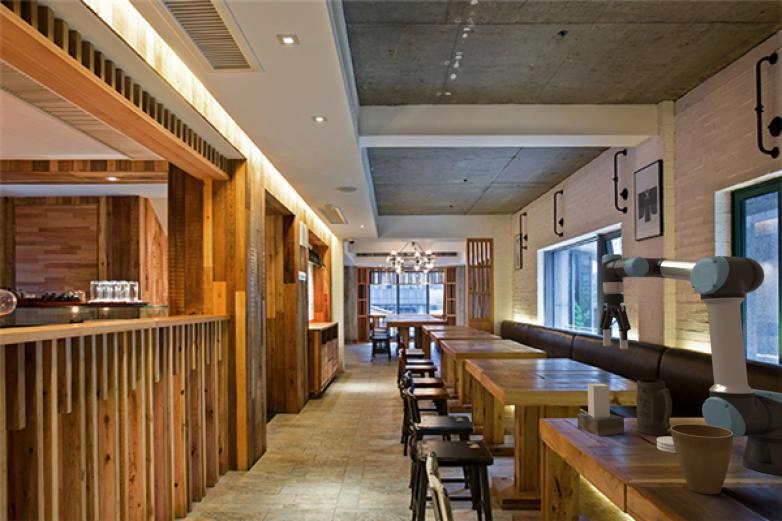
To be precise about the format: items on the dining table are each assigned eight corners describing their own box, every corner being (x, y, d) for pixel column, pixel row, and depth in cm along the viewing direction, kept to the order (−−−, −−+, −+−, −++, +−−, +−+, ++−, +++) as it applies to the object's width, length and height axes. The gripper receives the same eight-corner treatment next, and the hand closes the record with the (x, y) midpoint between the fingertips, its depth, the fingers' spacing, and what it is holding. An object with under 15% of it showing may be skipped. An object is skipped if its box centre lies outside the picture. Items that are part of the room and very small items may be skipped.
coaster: (656, 452, 181) (655, 441, 181) (657, 444, 189) (657, 434, 190) (690, 456, 176) (689, 445, 176) (689, 448, 185) (689, 438, 185)
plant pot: (712, 479, 153) (710, 422, 154) (749, 499, 138) (746, 436, 139) (661, 480, 152) (659, 423, 153) (692, 500, 138) (690, 437, 139)
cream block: (609, 417, 205) (609, 386, 206) (594, 417, 205) (593, 386, 206) (603, 414, 211) (602, 383, 212) (588, 414, 211) (587, 383, 212)
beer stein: (629, 429, 209) (630, 378, 209) (648, 426, 214) (649, 376, 214) (663, 442, 195) (665, 387, 195) (683, 438, 200) (684, 385, 200)
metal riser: (624, 434, 204) (623, 418, 205) (598, 436, 201) (598, 420, 201) (602, 426, 216) (602, 411, 216) (577, 429, 212) (577, 413, 212)
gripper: (639, 292, 200) (641, 350, 198) (607, 293, 225) (609, 344, 223) (619, 292, 200) (622, 350, 198) (590, 293, 224) (592, 344, 223)
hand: (615, 347), depth 211 cm, fingers open, 13 cm apart
